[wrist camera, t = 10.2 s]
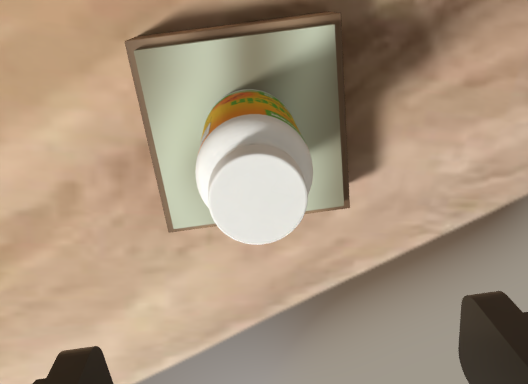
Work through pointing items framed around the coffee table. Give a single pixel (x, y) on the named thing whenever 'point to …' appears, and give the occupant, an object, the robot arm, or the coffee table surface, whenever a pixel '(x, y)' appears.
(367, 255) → the coffee table surface
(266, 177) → the supplement bottle
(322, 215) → the coffee table surface
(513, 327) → the robot arm
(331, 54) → the plinth
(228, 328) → the coffee table surface
